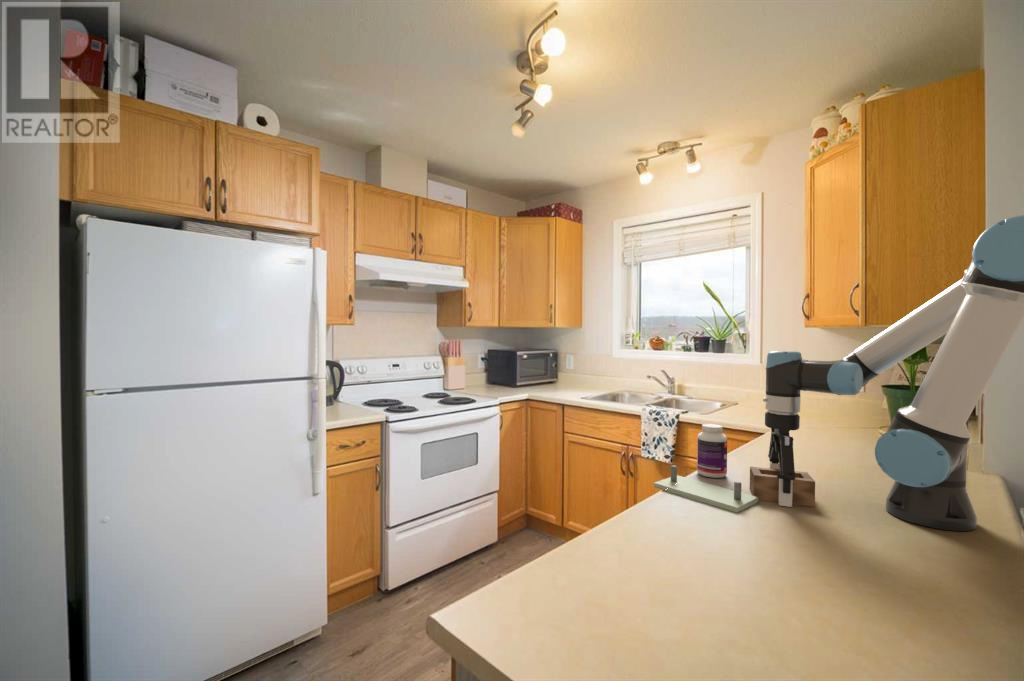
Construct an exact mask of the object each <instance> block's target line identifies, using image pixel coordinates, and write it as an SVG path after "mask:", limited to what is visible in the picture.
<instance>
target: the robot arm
mask: <svg viewBox="0 0 1024 681" xmlns="http://www.w3.org/2000/svg"><path fill="white" fill-rule="evenodd" d="M971 258H972V259H971V261H970V264H969V265H968V268H967V269H965V270H964V272H963V277H962V278H961V279H959V280H958V281H956V282H955V283H953V284H952V285H951V286H949V287H947V288H946V289H944V290H943V291H941V292H940V293H938V294H937V295H935V296H934V297H932V298H931V299H929V300H928V301H926V302H925V303H923V304H922V305H920V306H919V307H917V308H915V309H913V311H911V312H909V314H906V316H904V317H903V318H900V320H897V322H895V323H893V324H892V325H890V326H889V327H888V328H886V329H885V330H883V331H881V332H880V333H878V334H877V335H875V336H873V338H871V339H870V340H868V341H866V342H865V343H863V344H862V345H861V346H859V347H858V348H856V349H854V351H851V352H850V353H849V354H847V355H845V356H844V357H842V358H841V359H839V360H809V359H803V357H802V353H801V352H800V351H796V350H795V351H794V350H771V351H769V352H768V353H767V356H766V357H767V358H766V365H765V397H763V399H762V402H765V408H764V409H766V411H765V412H764V425H765V427H767V428H769V429H770V430H771V431H770V432H771V433H770V441H769V450H768V454H767V456H768V458H769V459H768V460H769V468H770V469H780V475H778V476H777V478H778V479H779V502H777V503H778V506H783V507H789V508H792V507H793V504H792V492H793V480H795V471H796V470H795V469H796V468H795V458H794V438H793V436H790V431H798V430H799V429H800V422H801V420H800V418H801V416H800V415H799V414H798V413H800V412H801V392H802V391H804V392H815V393H825V394H833V395H837V396H842V395H843V396H855V395H858V394H859V393H860V391H861V390H862V388H863V387H864V386H866V385H867V384H869V382H870V381H871V380H873V379H875V378H876V377H878V376H879V375H881V374H882V373H884V372H886V371H887V370H889V369H890V368H892V367H894V366H895V365H897V364H899V363H900V362H902V361H904V360H905V359H907V358H908V357H910V356H912V355H914V354H915V353H917V352H919V351H920V350H922V349H924V348H926V347H927V346H929V345H930V344H932V343H933V342H935V341H936V340H938V339H940V338H942V337H943V336H944V338H943V340H942V343H941V344H940V346H939V348H938V350H937V353H936V354H935V356H934V358H933V360H932V362H931V364H930V366H929V368H928V370H927V372H926V374H925V376H924V378H923V380H922V382H921V383H920V386H919V388H918V390H917V392H916V394H915V396H914V397H913V400H912V402H911V403H910V404H909V405H907V406H902V407H900V408H898V409H897V411H896V413H895V414H894V417H893V418H892V420H891V422H890V425H888V426H889V427H888V429H887V430H886V432H885V433H883V434H881V436H880V437H879V438H878V439H877V441H876V443H875V447H874V458H875V461H876V464H877V465H878V466H879V468H880V469H881V471H882V472H883V473H885V475H886V476H887V477H889V478H891V479H892V480H894V481H893V484H892V486H891V488H890V490H889V492H888V495H887V496H886V499H885V510H886V512H887V513H889V514H890V515H891V516H894V517H896V518H898V519H900V520H904V521H907V522H909V523H913V524H917V525H918V526H919V525H920V526H922V527H927V528H933V529H938V530H943V531H952V532H970V531H975V530H976V529H977V526H978V525H977V524H978V522H977V521H978V519H977V515H976V512H975V509H974V507H973V504H972V502H971V499H970V496H969V494H968V491H967V462H968V461H967V459H968V455H967V454H968V442H969V441H970V439H971V437H972V434H971V432H970V430H969V428H968V424H967V422H968V420H969V418H970V417H971V415H972V413H973V411H974V409H975V407H976V405H977V404H978V402H979V400H980V398H981V397H982V394H983V393H984V391H985V388H986V387H987V385H988V384H989V382H990V380H991V378H992V376H993V375H994V372H995V371H996V370H997V367H998V365H999V363H1000V361H1001V359H1002V358H1003V356H1004V354H1005V353H1006V351H1007V349H1008V347H1009V345H1010V343H1011V342H1012V340H1013V338H1014V336H1015V334H1016V332H1017V330H1018V329H1019V326H1020V325H1021V323H1022V322H1023V319H1024V214H1023V215H1016V216H1010V217H1008V218H1005V219H1002V220H1000V221H997V222H995V223H994V224H992V225H990V226H989V227H988V228H986V229H985V230H984V231H983V232H982V233H981V234H980V235H979V236H978V238H977V239H976V241H975V242H974V245H973V246H972V251H971ZM787 473H789V474H787Z"/></svg>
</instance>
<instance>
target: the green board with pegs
mask: <svg viewBox="0 0 1024 681" xmlns="http://www.w3.org/2000/svg"><path fill="white" fill-rule="evenodd" d="M680 481H681V482H680ZM678 482H680V483H678ZM676 483H677V484H676ZM675 484H676V485H675ZM653 488H655V489H659V490H662V491H665V492H668V493H672V494H675V495H678V496H681V497H685V498H688V499H691V500H694V501H698V502H701V503H704V504H707V505H711V506H714V507H717V508H721V509H724V510H726V511H729V512H734V513H737V514H738V513H740V512H742V511H743V510H744V511H745V509H747V508H749V507H751V506H754V505H755V504H757V503H759V500H758V497H756V496H752V494H747V493H745V492H744V493H743V492H742V482H741V481H734V482H733V489H729V488H726V487H723V486H722V487H721V486H718V485H715V484H711V483H708V482H704V481H700V480H696V479H693V478H688V477H685V476H682V475H679V474H678V466H677V465H670V476H669V477H667V478H663V479H660V480H657V481H654V482H653ZM667 488H668V489H667ZM665 489H667V490H665Z"/></svg>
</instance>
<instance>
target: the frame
mask: <svg viewBox="0 0 1024 681" xmlns="http://www.w3.org/2000/svg"><path fill="white" fill-rule="evenodd" d="M787 474H789V473H787ZM778 475H780V469H770V467H758V466H749V491H750V493H751V494H750V495H752V496H756V497H758V501H767V502H774V503H779V479H778V478H777V476H778ZM792 505H799V506H804V507H805V506H806V507H807V506H808V507H816V481H815V480H814V478H813V476H811V475H810V474H809V473H808V472H807V471H798V470H797V471H796V470H795V480H793V492H792Z"/></svg>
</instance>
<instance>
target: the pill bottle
mask: <svg viewBox="0 0 1024 681" xmlns="http://www.w3.org/2000/svg"><path fill="white" fill-rule="evenodd" d="M723 429H724V428H723V426H722V425H719V424H714V423H703V424H701V432H699V433H698V434H697V437H696V438H697V439H696V471H697V473H698V474H699V475H701V476H702V477H706V478H711V479H712V478H713V479H721V478H725V477H726V476H727V474H728V437H727V436H726V434H724V433H723V431H724V430H723Z"/></svg>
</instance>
